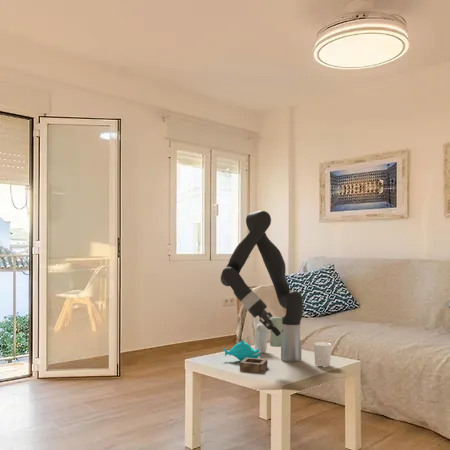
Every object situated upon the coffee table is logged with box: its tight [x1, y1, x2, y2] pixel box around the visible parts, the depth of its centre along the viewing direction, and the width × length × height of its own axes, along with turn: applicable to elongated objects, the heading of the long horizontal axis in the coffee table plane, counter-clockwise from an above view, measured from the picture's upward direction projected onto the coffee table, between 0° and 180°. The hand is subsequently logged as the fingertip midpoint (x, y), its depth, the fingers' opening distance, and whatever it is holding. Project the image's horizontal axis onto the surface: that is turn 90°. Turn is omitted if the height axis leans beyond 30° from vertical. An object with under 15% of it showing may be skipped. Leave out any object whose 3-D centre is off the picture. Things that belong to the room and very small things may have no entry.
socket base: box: [239, 357, 268, 373], centre depth 213 cm, size 10×10×4 cm
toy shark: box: [222, 338, 262, 362], centre depth 227 cm, size 10×18×11 cm, turn 88°
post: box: [269, 316, 283, 348], centre depth 206 cm, size 5×5×12 cm
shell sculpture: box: [252, 316, 270, 354], centre depth 247 cm, size 8×8×18 cm
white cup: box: [313, 341, 332, 367], centre depth 221 cm, size 8×8×10 cm
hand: (280, 333), depth 205 cm, fingers closed on post, 5 cm apart
